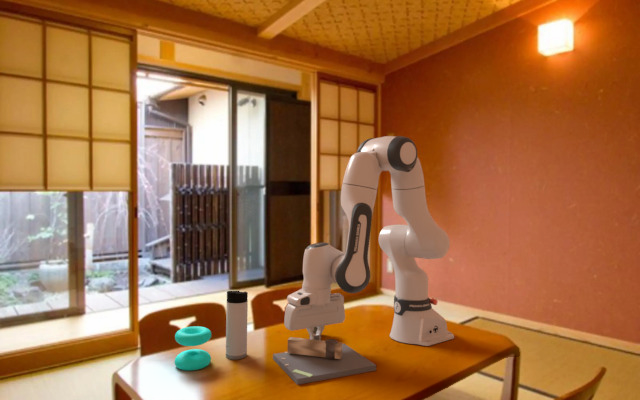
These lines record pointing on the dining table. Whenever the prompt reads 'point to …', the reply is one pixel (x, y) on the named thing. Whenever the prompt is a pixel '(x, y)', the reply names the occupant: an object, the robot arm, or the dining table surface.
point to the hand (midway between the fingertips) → (315, 340)
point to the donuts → (192, 357)
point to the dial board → (322, 365)
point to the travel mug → (236, 324)
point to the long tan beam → (315, 347)
